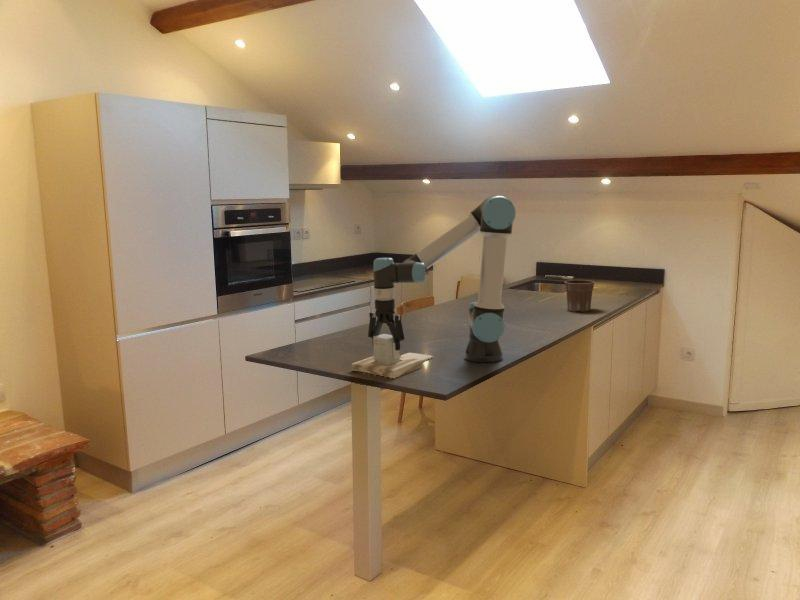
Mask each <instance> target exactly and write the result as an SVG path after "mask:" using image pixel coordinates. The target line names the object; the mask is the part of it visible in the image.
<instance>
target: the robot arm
mask: <svg viewBox="0 0 800 600" xmlns="http://www.w3.org/2000/svg"><path fill="white" fill-rule="evenodd" d="M468 214H469V215H468V217H466V218H465V219H463V220H462V221H460V222H459V223H457V224H456V225H454V226H453V227H452V228H450V229H449V230H447V231H446V232H444V233H443V234H442V235H440V236H439V237H437V238H436V239H434V240H433V241H432V242H430V243H429V244H427V245H426V246H424V247H423V248H422V249H420V250H419V251H418V252H415V253H414V254H413V255H412V256H410V257H409V258H406V259H405V260H403V262H394V259H393V258H392V257H377V258H375V259H373V285H374V287H373V288H374V289H373V290H374V291H373V292H374V298H375V299H374V309H375V311H372V312H369V314H368V315H369V324H368V332H367V337H368V338H371V340H373V336H377V335H380V334H381V333H380V332H381V329H382V327H383V324H386V325H387V327H388V329H389V331H390V335H392V337H393V339H394V342H393V359H397V358H399V356H400V350H401V341H404V340H405V334H404V329H403V328H404V327H403V323H402V314H397V313H395V305H396V304H395V301H396V300H395V299H394V298H395V284H399V283H400V284H403V283H404V284H406V283H407V284H410V283H411V284H413V283H415V284H418V283H424V282H425V281H426V270H428V269H429V268H430V267H432V266H433V265H435V264H436V263H438V262H439V261H440V260H442V259H444V258H445V257H446V256H448V255H449V254H451V253H452V252H454V251H455V250H456V249H458V248H459V247H461V246H463V245H464V244H465V243H467V242H468V241H470V240H471V239H472V238H474V237H475V236H477V235H478V234H481V235H482V236H483V241H482V251H481V263H480V264H481V265H480V273H479V285H478V286H479V287H478V297H477V300H476V301H474V302H470V303H469V304H468V329H469V330H468V335H469V336H468V339H469V340H468V342H467V345H466V348H465V352H464V358H465V360H467V361H470V362H473V363H493V362H499V361H502V360H503V359H504V351H503V350H502V347H501V343H500V340H499V339H501V337H502V336H503V334H504V331H505V328H506V327H505V322H504V316H505V305H504V304H503V303H502V294H503V285H504V274H505V273H504V272H505V265H506V264H505V262H506V261H505V260H506V253H507V252H506V251H507V241H508V238H509V237H510V236H512V235H513V234H512V233H513V231H512V230H513V223H514V221H515V219H516V214H517V213H516V208H515V205H514V203H513V201H512V200H510V198H508V197H506V196H502V195H492V196H489V197H487V198H485V199H484V200H483V201H482V202H481V203H480V204H479V205H478V206H477V207H475V208H474V209H473V210H472V211H471V210H470V212H469V213H468ZM372 347H373V348H374V345H373V344H372Z"/></svg>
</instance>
